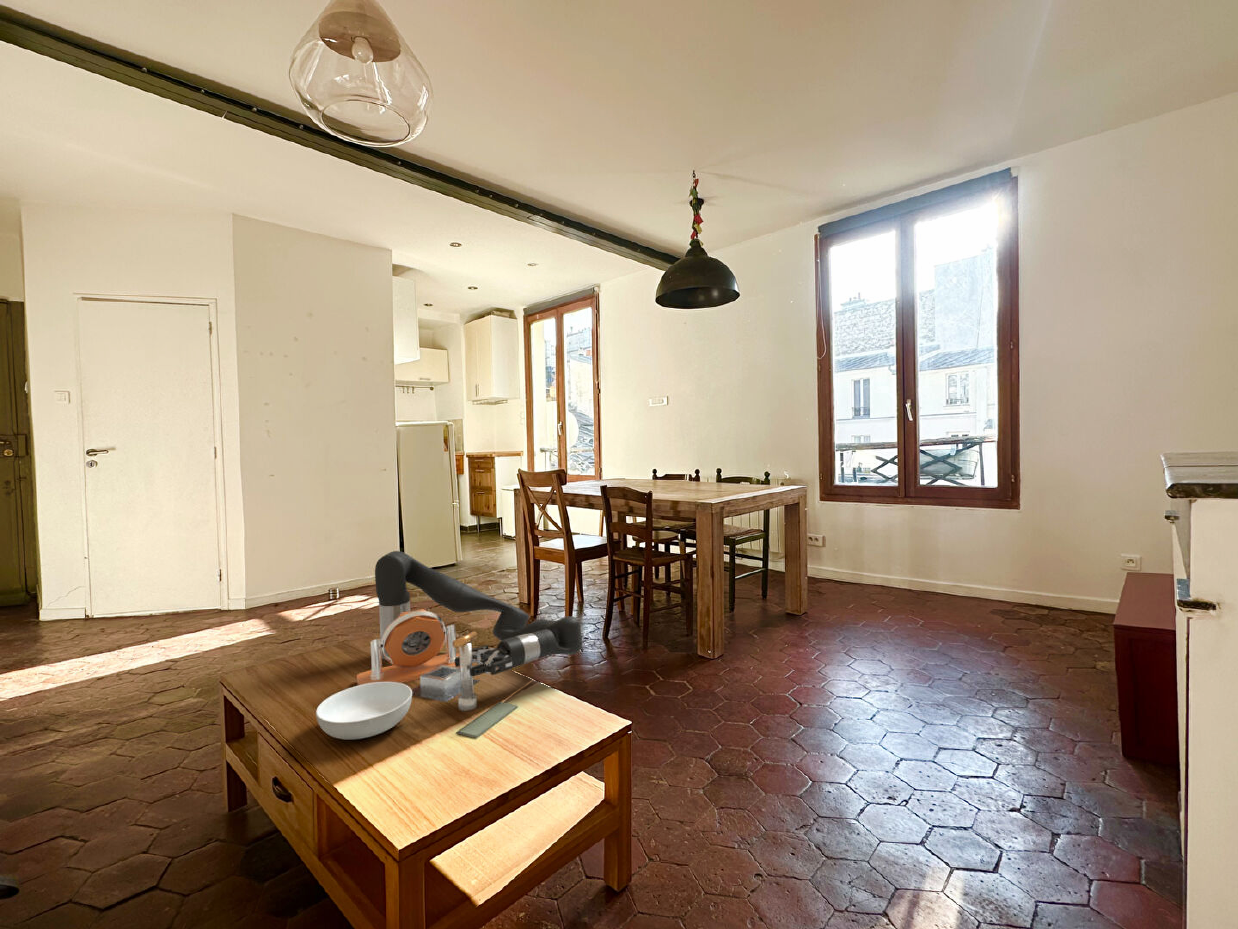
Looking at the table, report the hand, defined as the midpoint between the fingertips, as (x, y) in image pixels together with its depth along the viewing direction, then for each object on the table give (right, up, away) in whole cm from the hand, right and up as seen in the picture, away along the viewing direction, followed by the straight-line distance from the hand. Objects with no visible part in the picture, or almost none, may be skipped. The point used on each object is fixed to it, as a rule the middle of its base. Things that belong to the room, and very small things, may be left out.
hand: (462, 667), depth 141 cm
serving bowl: (-21, -13, -6) cm, 25 cm away
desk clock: (-21, -12, +24) cm, 34 cm away
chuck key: (+1, -11, +1) cm, 11 cm away
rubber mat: (+3, -11, -2) cm, 12 cm away
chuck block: (-9, -11, +13) cm, 20 cm away
